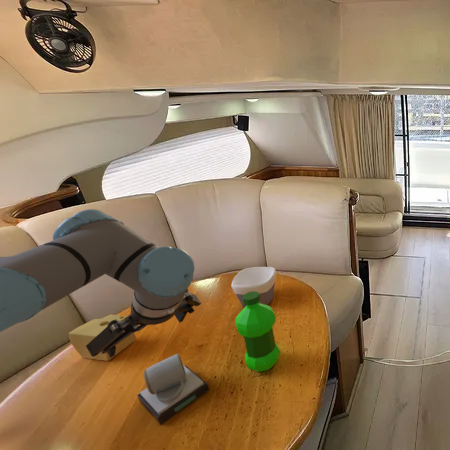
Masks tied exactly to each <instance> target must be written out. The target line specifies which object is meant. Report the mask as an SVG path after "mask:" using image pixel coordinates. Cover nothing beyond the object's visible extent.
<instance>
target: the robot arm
mask: <svg viewBox="0 0 450 450" xmlns="http://www.w3.org/2000/svg"><path fill="white" fill-rule="evenodd" d="M194 273H195V261H194V259H193V257H192V256H191V255H190V253H188V252H187V251H186V250H184V249H182V248H178V247H175V246H174V247H173V246H159V245H156V244H154V243H153V242H152V241H150V240H148V239H147V238H146V237H144V236H143V235H141V234H139V233H138V232H136V231H135V230H133V229H132V228H130V227H129V226H127V225H126V224H125V223H124V222H123V221H121V220H119V219H116V218H115V217H113V216H112V215H109V214H107V213H105V212H104V211H102V210H99V209H94V208H91V209H84V210H80V211H78V212H75V214H73V215H72V216H71V217H67V218H66V219H64V220H63V221H62V222H61V223H60V224H59V225H58V226H57V227H56V228H55V230H54V232H53V234H52V240H51V241H48V242H45V243H43V244H40V245H38V246H35V247H32V248H30V249H27V250H24V251H23V252H20V253H17V254H14V255H9V256H0V333H2V332H3V331H5V330H8V329H9V328H11V327H14V326H15V325H17V324H20V323H22V322H26V321H28V320H30V319H31V318H33V317H35V316H36V315H38V313H40V312H41V311H43V310H45V309H46V308H49V307H50V306H52V305H54V304H55V303H57V302H59V301H61V300H62V299H64V298H66V297H67V296H69V295H71V294H72V293H74V292H76V291H78V290H80V289H81V288H83V287H85V286H86V285H88V284H91V283H92V282H94V281H96V280H97V279H99V278H101V277H102V276H105V275H106V276H108V277H110V278H112V279H114V280H116V281H117V282H119V283H121V284H123V285H125V286H126V287H128V288H129V289H131V290H133V295H132V300H131V305H130V314H129V315H127V318H125V320H124V321H121V322H120V321H117V320H112V321H111V322H109V324H108V326H107V327H106V328H105V329H104V330H103V331H102V332H101V333H100V334H98V335H97V336H96V337H95V338H94V339H93V340H92V341H91V342H89V343H88V344H87V345H86V347H87V349H88V351H89V352H90V354H91V356H92V357H94V356H96V355H98V354H99V353H100V352H101V353H102V354H104V353H106V352H107V353H108V355H109V356H110V358H111V357H113V356H114V357H116V356H115V351H116V346H115V345H116V344H118V343H119V342H121V341H122V340H123V339H125V338H126V337H128V336H129V335H130V334H132V333H137V332H140V331H142V330H143V329H144V328H146V327H147V326H152V325H153V326H155V325H160V324H163V323H166V322H168V321H169V320H171V319H172V318H174V316H175V318H176V320H177V321H178V323H179V324H180V323H182V322H184V320H185V318H186V317H187V314H189V315H190V314H193V313H194V312H195V309H194V307H199V306H200V305H201V304H202V302H201V301H200V298H199V297H198V296H197V295H196V294H195V293H192V292H190V290H189V289H188V288H189V287H190V286H191V284H192V281H193V278H194ZM114 357H113V358H114Z"/></svg>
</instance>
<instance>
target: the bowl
mask: <svg viewBox="0 0 450 450" xmlns="http://www.w3.org/2000/svg"><path fill="white" fill-rule="evenodd" d="M276 274H277V270H276V268H275V267H272V266H253V267H247V268H242V269H241V270H240V271H239V272H238V273H237V274H236V275H234V277H233V279H232V281H231V284H230V286H231V289H232V291H233V292H234V294H235V296H236V298H237V299H238V301H239V303H240V304H241V306H242V307H243V308H245V307H246V305H244V302H243V295H244V294H246V293H248V292H252V291H256V292H258V293H259V296H260V301H259V303H261V304H265V305H269V304H270V303H271V302H272V301H273V299H274V295H275V286H276Z"/></svg>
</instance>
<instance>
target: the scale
mask: <svg viewBox="0 0 450 450" xmlns="http://www.w3.org/2000/svg"><path fill="white" fill-rule="evenodd" d="M183 366H184V369H185V372H186V375H187V381H185V382H184V387H183V391H182V393H181V394H180V395H179V397H177V398H176V399H174V400H172V401H170V402H161V401H159V400H158V399H157V397H156V395H155V394H150V392H149V391H148V388H147V387H146V388H145V389H142V390H141V391H139V393H138V394H137V395H136V396H137V399H138V400H139V403H140V404H141V405H142V406H143V407H144V408H145V410H147V412H148V413H149V414H150V415H151V417H152V418H153V419H154V420H155V421H156V422H157V423H158V424H159V426H160V425H162V424H164V423H166V422H167V421H168V420H170V419H171V418H172V417H174V416H175V415H177V414H178V413H179V412H181V411H182V410H183V409H185V408H186V407H188V406H189V405H191V404H192V403H194V402H195V401H196V400H198V399H200V398H201V397H202V396H203V395H205V394H206V393H208V392H209V391H210V388H209V384H208V382H206V381H205V380H204V379H203V378H202V377H201V376H199V375H198V374H197V373H196V372H195V371H193V370H192V369H191V368H190V367H188V366H187V365H183ZM180 386H181V384H178V385H176V386H174V387H171V388H169V389H167V390H165V391H162V392H160V393H158V396H159V397H160V398H162V399H166V398H171V397H173V396H175V395H176V394H177V392H178V391H179V389H180Z"/></svg>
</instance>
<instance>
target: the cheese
mask: <svg viewBox="0 0 450 450" xmlns="http://www.w3.org/2000/svg"><path fill="white" fill-rule="evenodd" d="M127 317H128V315H122V314H107V316H104V317H102V318H94V319H91V320H89V321H88V322H85V323H83V324H81V325H80V326H78V327H76V328H74V329H72V330H71V331H70V332H68V338H69V342H70V343H71V345H72V347H73V348H74V350H75V351H76V352H77V353H78V354H79V355H80V358H82V359H88V360H98V361H106V362H110V360H112V359H113V358H115V357H116V356H117V355H118V354H120V353H121V352H122V351H123V350H125V349H126V348H127V347H128V346H129V345H131V344H133V343H134V342H136V341H137V338H136V334H135V333H136V332H134V333H132V334H130V335H129V336H128V337H126V338H125V339H123V340H122V341H121V342H119V343H118V344H116V345H115V346H116V351H115V356H113V357H111V358H110V356H109V355H108V353H107V352H106V353H104V354H102V353H101V352H100V353H99V354H98V355H96V356H94V357H92V356H91V354H90V352H89V351H88V349H87V347H86V345H87V344H88V343H89V342H91V341H92V340H93V339H94V338H95V337H96V336H97V335H98V334H100V333H101V332H102V331H103V330H104V329H105V328H106V327H107V326H108V324H109V322H111V321H112V320H117V321H120V322H121V321H124V320H125V318H127Z"/></svg>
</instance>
